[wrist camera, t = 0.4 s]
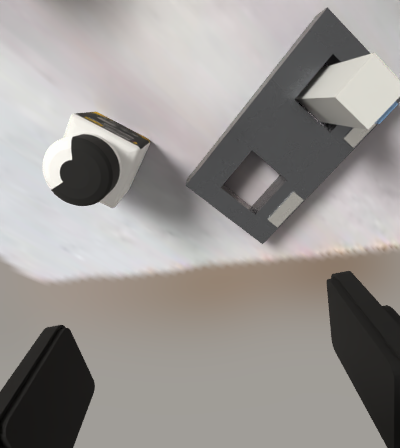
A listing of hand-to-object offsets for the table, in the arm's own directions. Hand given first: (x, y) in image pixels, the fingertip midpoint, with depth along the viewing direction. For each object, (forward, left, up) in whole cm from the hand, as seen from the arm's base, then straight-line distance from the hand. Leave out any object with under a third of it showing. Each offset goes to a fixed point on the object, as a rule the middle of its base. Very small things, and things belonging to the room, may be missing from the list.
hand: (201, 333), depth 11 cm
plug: (-15, +5, -29) cm, 33 cm away
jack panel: (-9, +5, -29) cm, 31 cm away
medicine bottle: (+5, -10, -29) cm, 31 cm away
